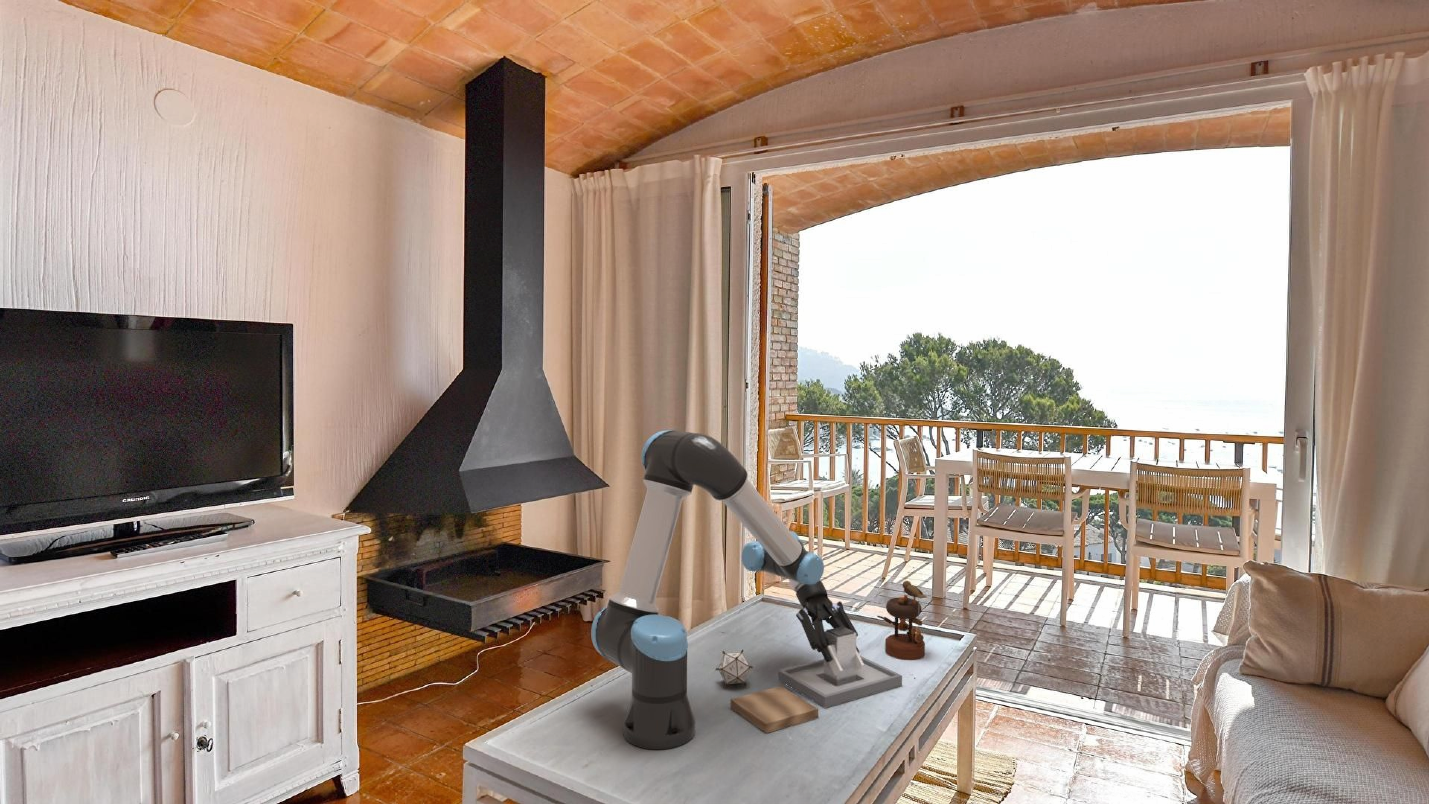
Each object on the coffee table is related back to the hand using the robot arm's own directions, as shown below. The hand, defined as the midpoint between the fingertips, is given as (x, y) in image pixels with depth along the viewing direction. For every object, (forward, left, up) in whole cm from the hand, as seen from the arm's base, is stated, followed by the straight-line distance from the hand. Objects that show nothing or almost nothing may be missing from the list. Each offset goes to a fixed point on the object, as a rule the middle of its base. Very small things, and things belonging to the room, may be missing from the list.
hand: (849, 670), depth 182 cm
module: (-3, +3, -4) cm, 6 cm away
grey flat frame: (-3, +3, -4) cm, 6 cm away
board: (-16, -17, -4) cm, 24 cm away
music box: (+12, +28, -5) cm, 31 cm away
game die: (-28, -4, -5) cm, 28 cm away
